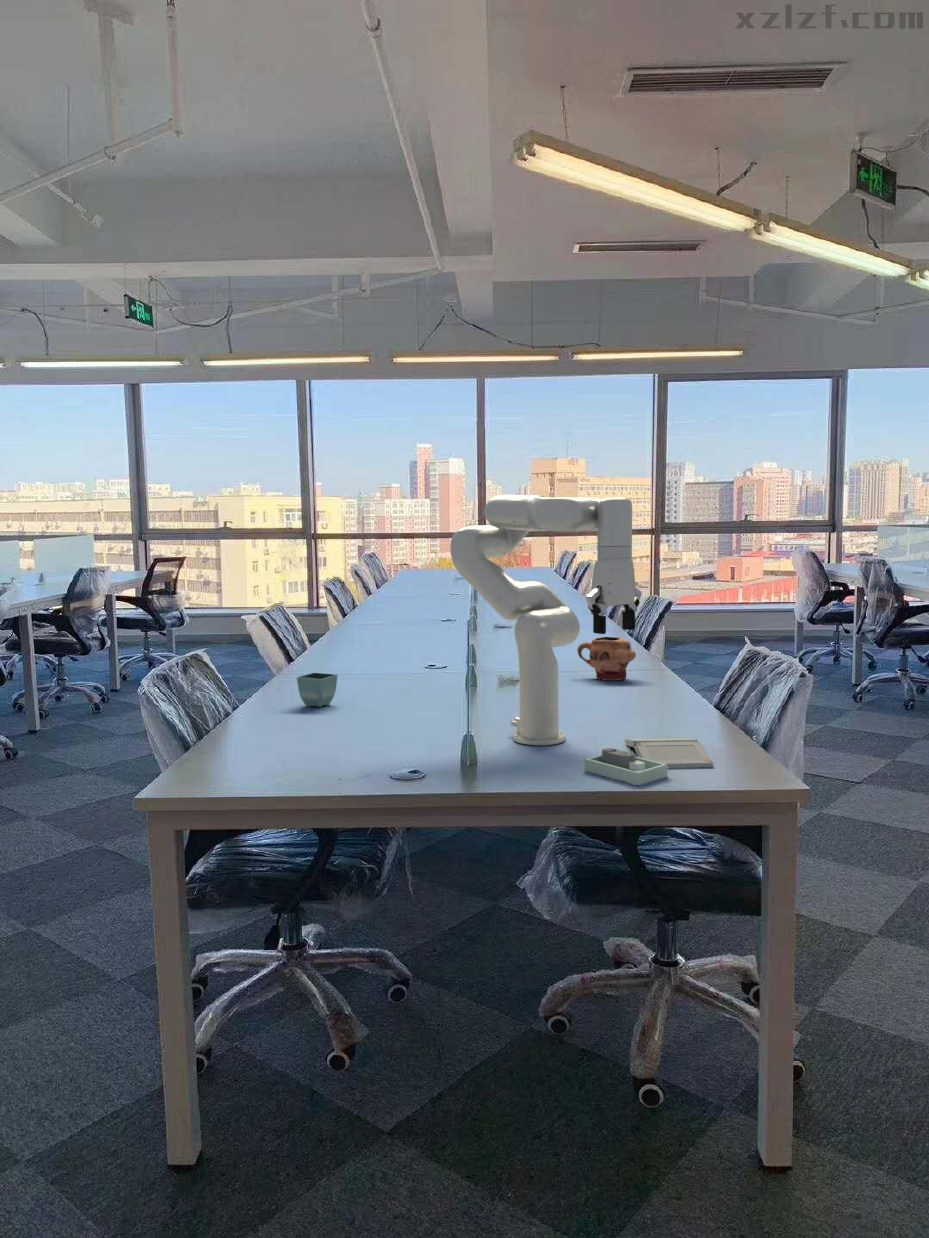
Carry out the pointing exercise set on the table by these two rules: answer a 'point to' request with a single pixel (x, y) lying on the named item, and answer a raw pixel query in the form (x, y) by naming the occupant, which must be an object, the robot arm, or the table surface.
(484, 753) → the table surface
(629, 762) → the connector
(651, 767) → the tray
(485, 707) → the table surface
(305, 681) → the flower pot
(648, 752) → the gadget
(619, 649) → the sculpted clay mug
